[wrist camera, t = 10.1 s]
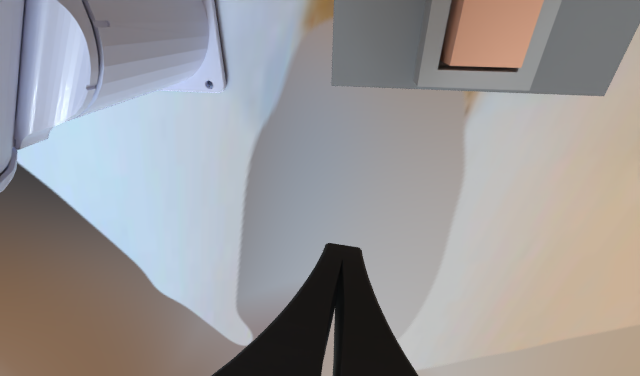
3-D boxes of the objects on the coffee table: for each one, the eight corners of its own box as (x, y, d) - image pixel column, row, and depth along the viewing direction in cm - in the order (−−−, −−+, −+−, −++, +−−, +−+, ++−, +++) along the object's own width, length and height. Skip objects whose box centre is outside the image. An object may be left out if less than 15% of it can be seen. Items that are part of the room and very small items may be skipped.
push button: (439, 60, 15) (449, 65, 13) (454, -12, 13) (467, -16, 12) (502, 62, 14) (521, 67, 13) (524, -11, 13) (549, -16, 11)
